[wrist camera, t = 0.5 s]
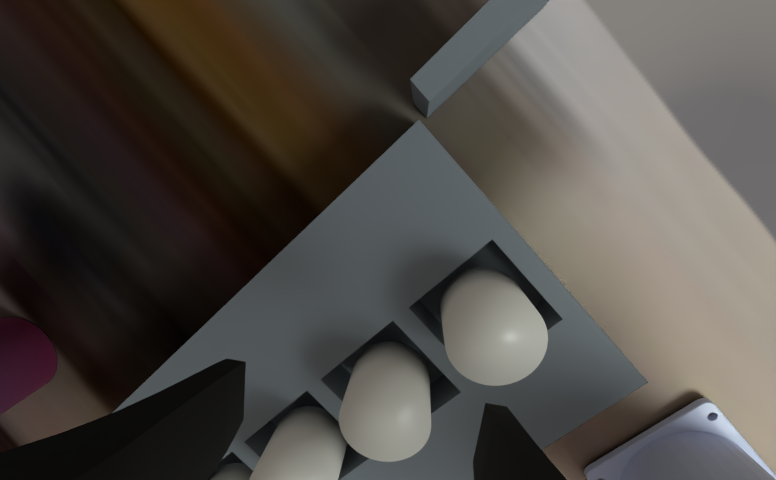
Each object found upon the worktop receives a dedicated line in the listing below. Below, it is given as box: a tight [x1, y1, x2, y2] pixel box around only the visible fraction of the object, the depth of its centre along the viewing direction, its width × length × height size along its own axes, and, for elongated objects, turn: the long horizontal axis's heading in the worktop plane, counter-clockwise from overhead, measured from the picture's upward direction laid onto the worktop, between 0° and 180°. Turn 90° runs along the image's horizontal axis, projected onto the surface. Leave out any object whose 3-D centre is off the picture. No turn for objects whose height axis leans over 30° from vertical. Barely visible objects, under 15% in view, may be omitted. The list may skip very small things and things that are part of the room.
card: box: [410, 0, 549, 118], centre depth 15 cm, size 1×7×6 cm, turn 133°
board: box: [113, 120, 648, 480], centre depth 20 cm, size 16×25×3 cm, turn 133°
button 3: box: [250, 406, 347, 480], centre depth 19 cm, size 4×4×3 cm
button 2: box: [339, 341, 431, 462], centre depth 17 cm, size 4×4×3 cm
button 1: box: [440, 267, 548, 386], centre depth 16 cm, size 4×4×3 cm
